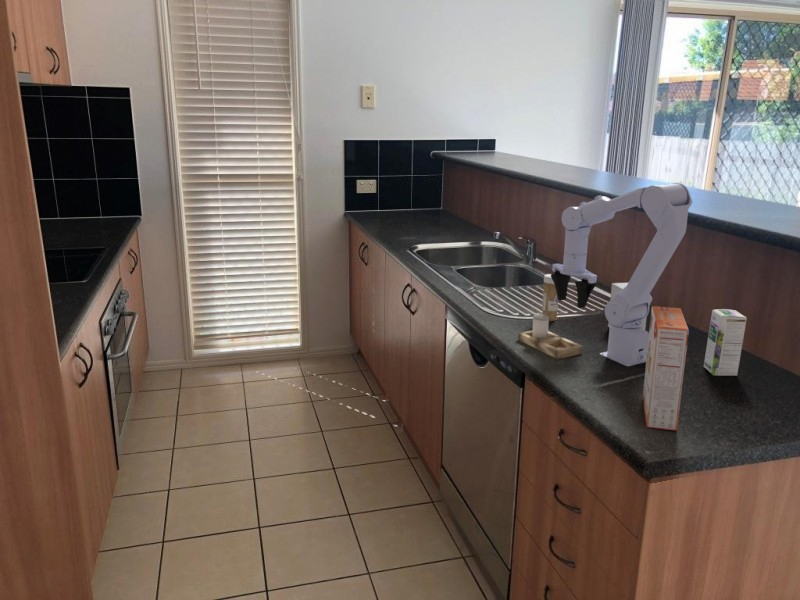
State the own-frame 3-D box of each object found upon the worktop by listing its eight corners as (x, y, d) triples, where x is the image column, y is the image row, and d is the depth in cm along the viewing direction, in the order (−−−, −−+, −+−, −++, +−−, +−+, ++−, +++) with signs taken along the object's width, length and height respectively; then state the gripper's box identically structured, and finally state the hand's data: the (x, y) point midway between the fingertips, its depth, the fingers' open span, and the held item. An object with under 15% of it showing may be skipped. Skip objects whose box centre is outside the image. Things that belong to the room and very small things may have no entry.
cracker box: (640, 398, 140) (651, 304, 134) (670, 402, 138) (682, 307, 132) (643, 428, 127) (655, 325, 121) (677, 432, 125) (691, 328, 119)
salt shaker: (550, 343, 171) (552, 317, 169) (538, 345, 169) (540, 319, 167) (540, 338, 174) (542, 313, 172) (528, 340, 173) (529, 315, 171)
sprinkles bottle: (554, 323, 188) (557, 278, 184) (539, 321, 190) (542, 276, 187) (559, 319, 192) (562, 274, 188) (544, 316, 194) (546, 272, 190)
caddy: (582, 355, 164) (582, 346, 163) (557, 361, 160) (558, 351, 160) (541, 337, 177) (542, 328, 176) (517, 341, 174) (518, 332, 173)
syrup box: (702, 366, 157) (710, 308, 153) (727, 366, 157) (736, 309, 153) (712, 376, 152) (721, 316, 147) (738, 376, 151) (748, 316, 147)
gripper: (544, 249, 173) (541, 298, 177) (583, 260, 161) (579, 312, 165) (565, 246, 177) (561, 295, 180) (604, 257, 164) (600, 308, 168)
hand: (571, 303), depth 173 cm, fingers open, 7 cm apart
